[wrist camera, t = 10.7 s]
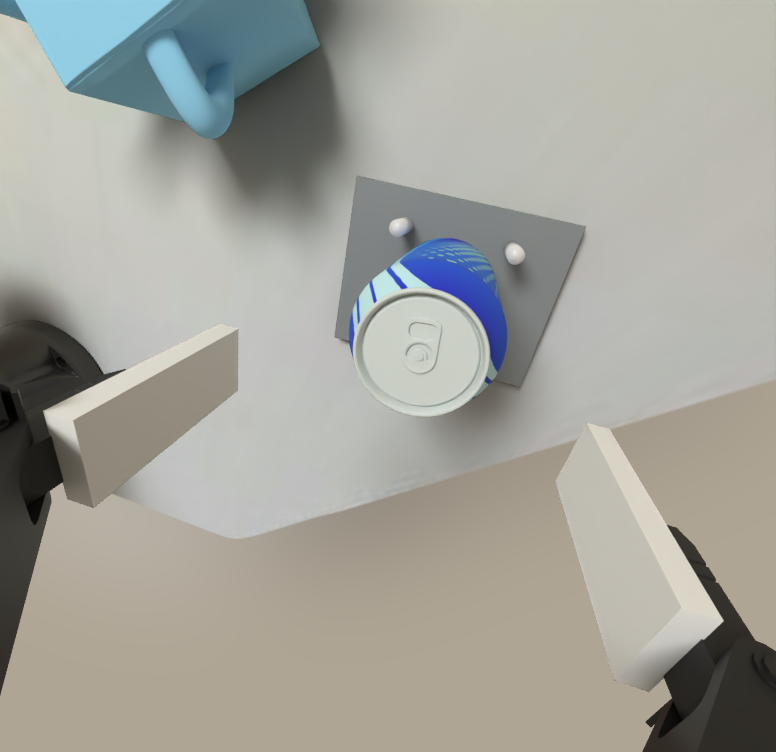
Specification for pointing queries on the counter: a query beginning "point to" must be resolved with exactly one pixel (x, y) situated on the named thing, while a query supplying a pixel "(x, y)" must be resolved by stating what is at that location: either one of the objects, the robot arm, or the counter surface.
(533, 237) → the pegboard
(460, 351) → the beer can
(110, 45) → the teakettle
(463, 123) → the counter surface
